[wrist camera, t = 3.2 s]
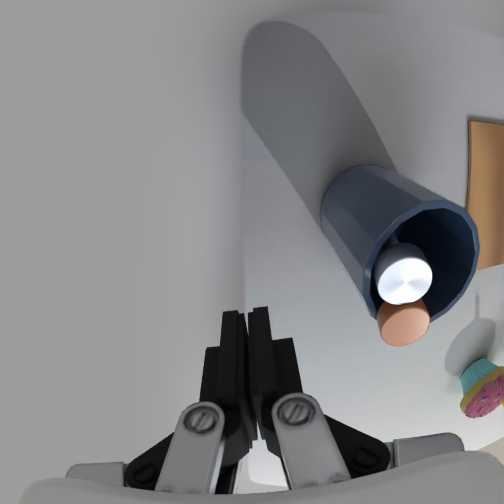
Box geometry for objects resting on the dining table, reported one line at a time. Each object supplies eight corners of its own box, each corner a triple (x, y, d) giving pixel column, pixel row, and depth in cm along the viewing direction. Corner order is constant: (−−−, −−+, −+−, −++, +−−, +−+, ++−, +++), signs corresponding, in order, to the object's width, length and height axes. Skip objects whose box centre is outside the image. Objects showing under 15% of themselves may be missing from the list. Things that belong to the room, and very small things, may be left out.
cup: (299, 220, 21) (332, 288, 13) (363, 143, 19) (436, 168, 11) (365, 272, 23) (412, 346, 15) (422, 206, 21) (495, 256, 13)
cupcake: (496, 337, 29) (541, 399, 18) (495, 368, 32) (530, 423, 21) (446, 374, 30) (484, 444, 20) (450, 399, 34) (481, 460, 23)
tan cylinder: (351, 249, 22) (377, 349, 14) (351, 218, 21) (384, 310, 12) (384, 247, 22) (424, 343, 13) (385, 216, 20) (435, 304, 12)
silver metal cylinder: (351, 213, 21) (374, 307, 13) (350, 179, 20) (380, 258, 11) (385, 212, 20) (426, 303, 12) (386, 178, 19) (437, 255, 11)
